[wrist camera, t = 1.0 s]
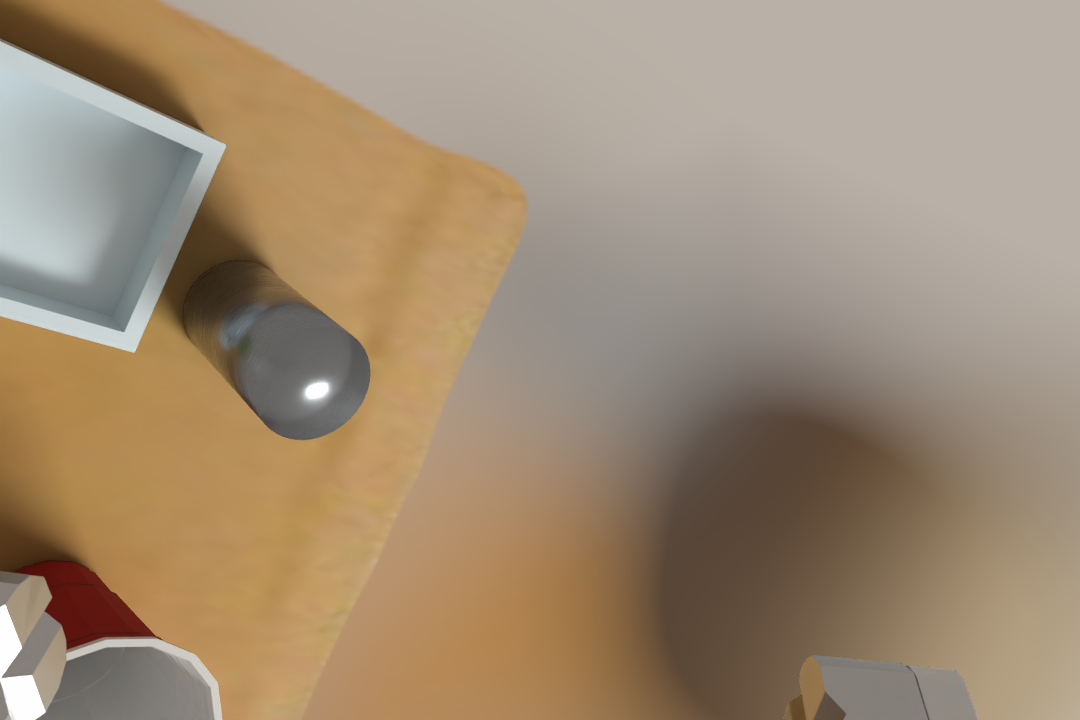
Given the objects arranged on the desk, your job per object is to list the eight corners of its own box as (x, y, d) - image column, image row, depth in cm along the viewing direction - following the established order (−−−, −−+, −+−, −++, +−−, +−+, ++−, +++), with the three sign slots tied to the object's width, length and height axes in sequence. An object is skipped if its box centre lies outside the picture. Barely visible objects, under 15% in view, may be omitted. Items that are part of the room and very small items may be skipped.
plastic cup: (162, 500, 51) (240, 627, 42) (142, 667, 54) (211, 817, 45) (-77, 524, 44) (-42, 680, 36) (-84, 713, 47) (-53, 900, 39)
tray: (-136, 258, 39) (-131, 280, 37) (-39, 20, 38) (-28, 28, 36) (117, 330, 46) (134, 352, 44) (205, 132, 45) (226, 144, 43)
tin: (165, 343, 48) (234, 425, 41) (209, 245, 47) (286, 311, 40) (261, 370, 52) (339, 450, 44) (303, 280, 51) (389, 346, 44)
